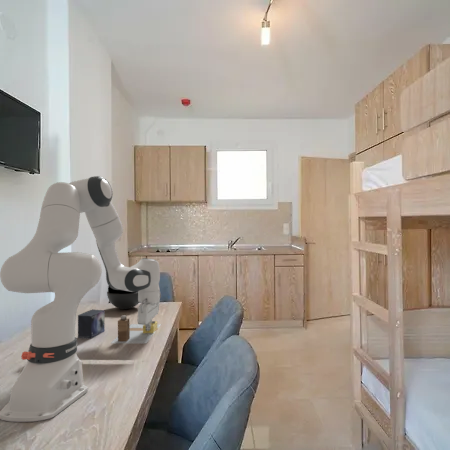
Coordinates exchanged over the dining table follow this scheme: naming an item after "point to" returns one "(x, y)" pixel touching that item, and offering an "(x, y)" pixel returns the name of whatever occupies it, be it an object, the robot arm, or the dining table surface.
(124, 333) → the wooden block with knob
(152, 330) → the block
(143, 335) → the board
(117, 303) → the coal bowl
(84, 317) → the small box
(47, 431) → the dining table surface
